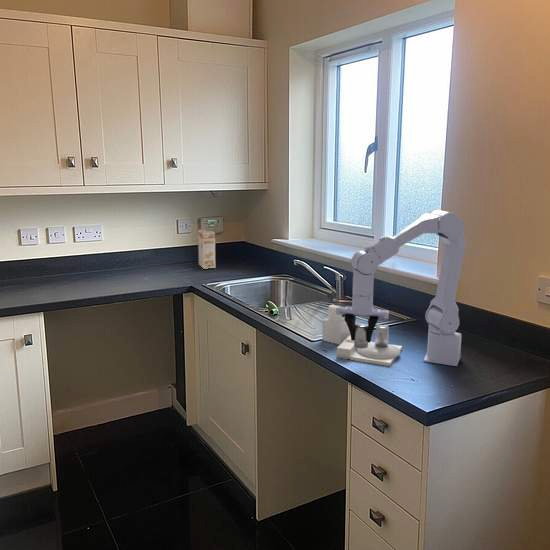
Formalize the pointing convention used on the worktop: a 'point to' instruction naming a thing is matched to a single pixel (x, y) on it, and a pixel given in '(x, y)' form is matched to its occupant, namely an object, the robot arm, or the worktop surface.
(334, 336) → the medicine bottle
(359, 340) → the cylinder
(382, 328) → the cylinder
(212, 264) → the coffeecake box
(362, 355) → the scale
